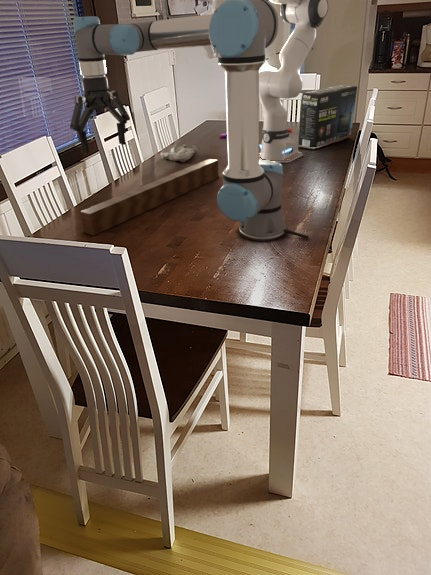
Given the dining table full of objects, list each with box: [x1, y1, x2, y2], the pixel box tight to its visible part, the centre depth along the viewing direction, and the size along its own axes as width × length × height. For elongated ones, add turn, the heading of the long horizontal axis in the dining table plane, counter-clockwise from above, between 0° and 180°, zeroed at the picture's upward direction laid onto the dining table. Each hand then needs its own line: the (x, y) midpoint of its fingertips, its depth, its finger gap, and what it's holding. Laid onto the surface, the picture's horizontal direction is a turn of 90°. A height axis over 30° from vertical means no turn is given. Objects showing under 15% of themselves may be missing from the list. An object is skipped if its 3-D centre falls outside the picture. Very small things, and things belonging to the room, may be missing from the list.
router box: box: [297, 84, 358, 151], centre depth 238 cm, size 36×11×27 cm, turn 134°
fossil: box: [160, 142, 199, 163], centre depth 229 cm, size 18×11×15 cm
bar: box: [79, 158, 220, 236], centre depth 176 cm, size 71×5×8 cm, turn 144°
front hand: (104, 148), depth 148 cm, fingers open, 13 cm apart
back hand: (224, 57), depth 181 cm, fingers open, 8 cm apart
